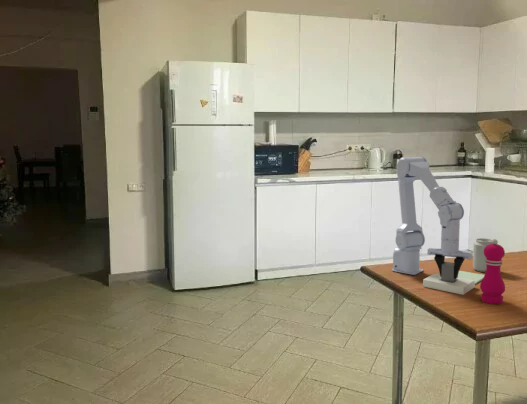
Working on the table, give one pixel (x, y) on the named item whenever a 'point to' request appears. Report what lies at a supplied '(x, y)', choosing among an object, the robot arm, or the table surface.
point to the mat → (470, 276)
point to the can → (480, 254)
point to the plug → (448, 272)
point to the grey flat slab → (449, 284)
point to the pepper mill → (493, 274)
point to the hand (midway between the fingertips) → (448, 277)
